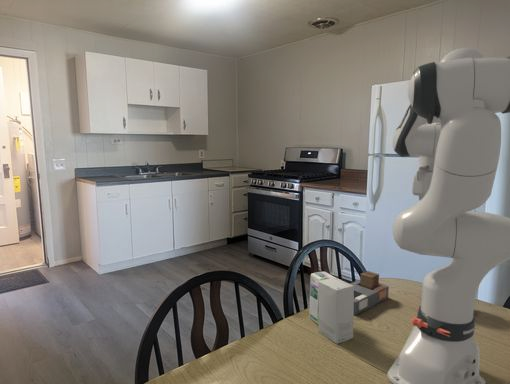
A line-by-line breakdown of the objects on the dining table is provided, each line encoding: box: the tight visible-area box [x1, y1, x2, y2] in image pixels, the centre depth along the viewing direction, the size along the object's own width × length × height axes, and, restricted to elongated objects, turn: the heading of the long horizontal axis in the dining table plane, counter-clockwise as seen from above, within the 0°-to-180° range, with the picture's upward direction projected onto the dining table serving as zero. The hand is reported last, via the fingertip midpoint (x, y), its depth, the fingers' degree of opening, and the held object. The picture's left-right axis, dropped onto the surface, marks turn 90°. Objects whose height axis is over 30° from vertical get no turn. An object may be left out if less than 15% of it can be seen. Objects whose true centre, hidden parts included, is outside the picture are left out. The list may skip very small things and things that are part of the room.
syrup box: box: [308, 271, 334, 326], centre depth 109 cm, size 6×6×14 cm
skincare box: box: [318, 276, 355, 345], centre depth 100 cm, size 8×7×16 cm
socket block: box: [349, 279, 390, 317], centre depth 122 cm, size 20×10×5 cm, turn 130°
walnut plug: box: [359, 270, 380, 290], centre depth 126 cm, size 4×4×8 cm
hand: (430, 206), depth 119 cm, fingers open, 8 cm apart
